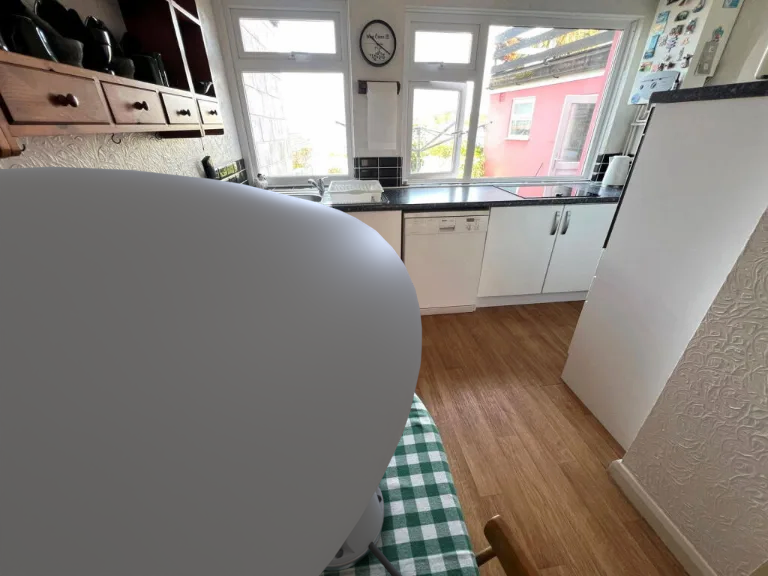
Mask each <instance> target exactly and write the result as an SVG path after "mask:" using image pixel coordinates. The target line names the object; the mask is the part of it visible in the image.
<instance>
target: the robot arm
mask: <svg viewBox="0 0 768 576" xmlns="http://www.w3.org/2000/svg"><path fill="white" fill-rule="evenodd" d="M422 342H423V326H422V316H421V308H420V304H419V299H418V294H417V290H416V287H415V285H414V283H413V280H412V278H411V276H410V273H409V271H408V269H407V267H406V264H405V263H404V261H402V259H401V258H400V255H399V254H398V253H397V252H396V250H395V249H394V247H393V246H392V245H391V244H390V243H389V242H388V241H387V240H386V239H385V238H384V237H383V236H382V235H381V234H380V233H379V232H378V231H377V230H376V229H375V228H373V227H372V226H370V225H368V224H367V223H365V222H364V221H362V220H360V219H359V218H357V217H355V216H353V215H350V214H349V213H346V212H344V211H342V210H341V209H337V208H333V207H331V206H328V205H325V204H322V203H319V202H317V201H313V200H310V199H305V198H300V197H297V196H293V195H288V194H285V193H280V192H276V191H273V190H272V191H271V190H268V189H265V188H264V189H263V188H260V187H255V186H252V185H248V184H244V183H239V182H231V181H225V180H219V179H213V178H204V177H197V176H190V175H189V176H187V175H179V174H171V173H162V172H155V171H154V172H153V171H145V170H137V169H121V168H119V169H117V168H97V167H95V168H94V167H75V166H74V167H72V166H71V167H70V166H37V167H36V166H35V167H15V168H0V576H320V575H321V574H322V573H323V572H324V571H331V572H333V571H335V572H336V571H341V570H345V569H348V568H350V567H353V566H355V565H357V564H358V563H360V562H361V561H362V560H364V559H365V558H366V557H367V556H369V554H370V553H372V554H373V556H374V557H375V558H376V559H377V560H378V562H379V563H380V564H381V565H382V566H383V568H384V569H385V571H387V573H389V575H390V576H403V575H402V574H401V573H400V571H398V570H397V568H396V567H395V566H394V565H393V564H392V563H391V561H390V560H389V559H388V558H387V557H386V555H384V553H383V552H382V551H381V549H380V548H379V547H378V546H377V545H376V544H377V543H378V541H379V539H380V536H381V534H382V531H383V528H384V522H385V503H384V497H383V493H382V491H381V487H380V484H381V481H382V479H383V477H384V475H385V473H386V471H387V470H388V467H389V465H390V464H391V461H392V459H393V457H394V454H395V453H396V450H397V448H398V446H399V443H400V442H401V439H402V437H403V434H404V431H405V430H406V429H405V428H406V425H407V422H408V419H409V416H410V414H411V410H412V406H413V402H414V397H415V393H416V388H417V384H418V379H419V375H420V369H421V364H422V350H423V347H422V346H423V345H422V344H423V343H422Z"/></svg>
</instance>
